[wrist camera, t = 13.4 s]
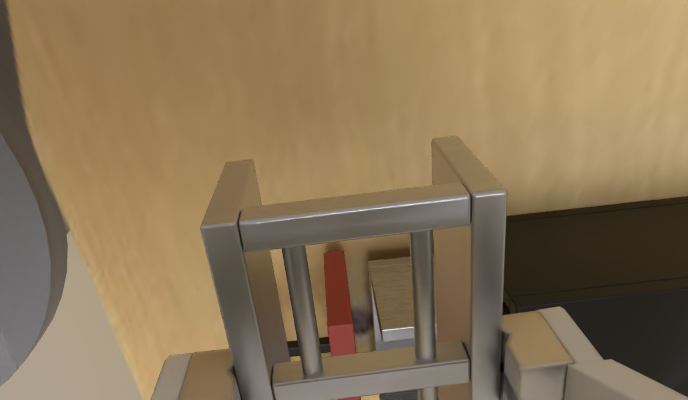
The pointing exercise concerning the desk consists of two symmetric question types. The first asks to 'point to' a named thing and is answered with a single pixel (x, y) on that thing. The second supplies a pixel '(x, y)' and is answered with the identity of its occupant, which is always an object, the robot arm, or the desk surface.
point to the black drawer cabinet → (610, 279)
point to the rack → (356, 223)
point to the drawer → (386, 305)
